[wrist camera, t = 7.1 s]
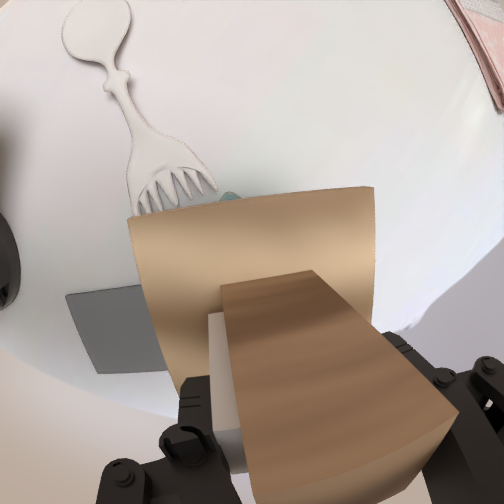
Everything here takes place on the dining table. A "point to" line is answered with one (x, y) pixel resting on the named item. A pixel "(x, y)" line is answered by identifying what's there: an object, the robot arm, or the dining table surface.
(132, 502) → the robot arm
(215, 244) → the lid
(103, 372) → the plate
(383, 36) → the dining table surface
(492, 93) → the towel
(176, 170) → the white spork
